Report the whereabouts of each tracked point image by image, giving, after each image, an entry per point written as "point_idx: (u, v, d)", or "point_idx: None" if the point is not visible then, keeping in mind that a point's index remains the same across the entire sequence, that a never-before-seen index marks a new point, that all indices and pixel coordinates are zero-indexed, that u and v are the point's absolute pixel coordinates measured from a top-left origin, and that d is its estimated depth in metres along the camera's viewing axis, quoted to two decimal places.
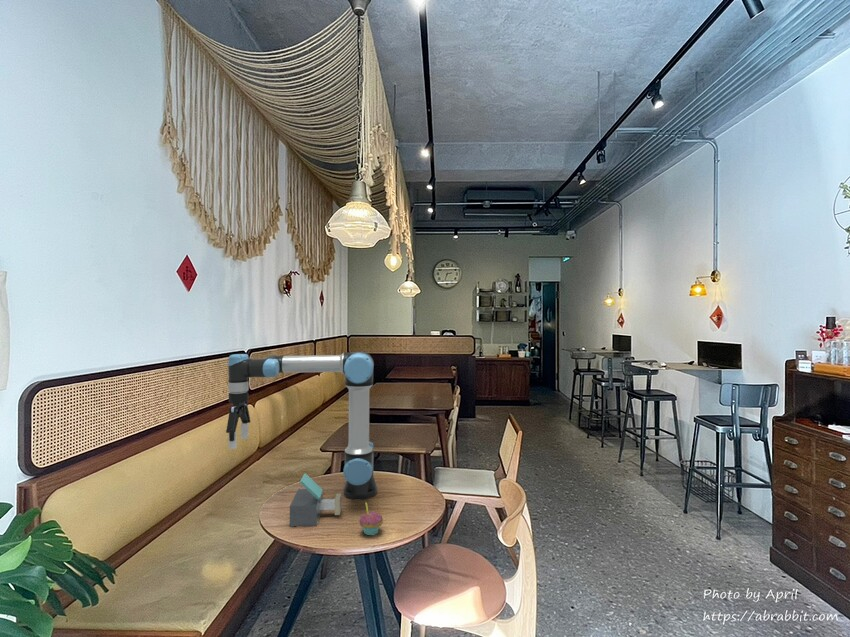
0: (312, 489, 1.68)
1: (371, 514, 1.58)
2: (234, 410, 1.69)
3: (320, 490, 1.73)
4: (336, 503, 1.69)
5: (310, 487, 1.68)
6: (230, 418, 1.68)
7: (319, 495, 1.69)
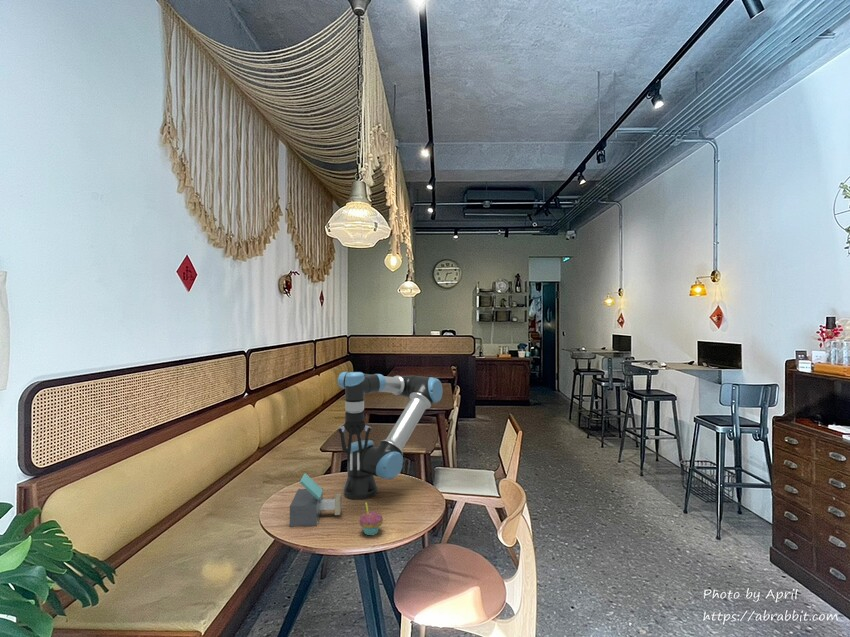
0: (312, 489, 1.68)
1: (371, 514, 1.58)
2: None
3: (320, 490, 1.73)
4: (336, 503, 1.69)
5: (310, 487, 1.68)
6: None
7: (319, 495, 1.69)
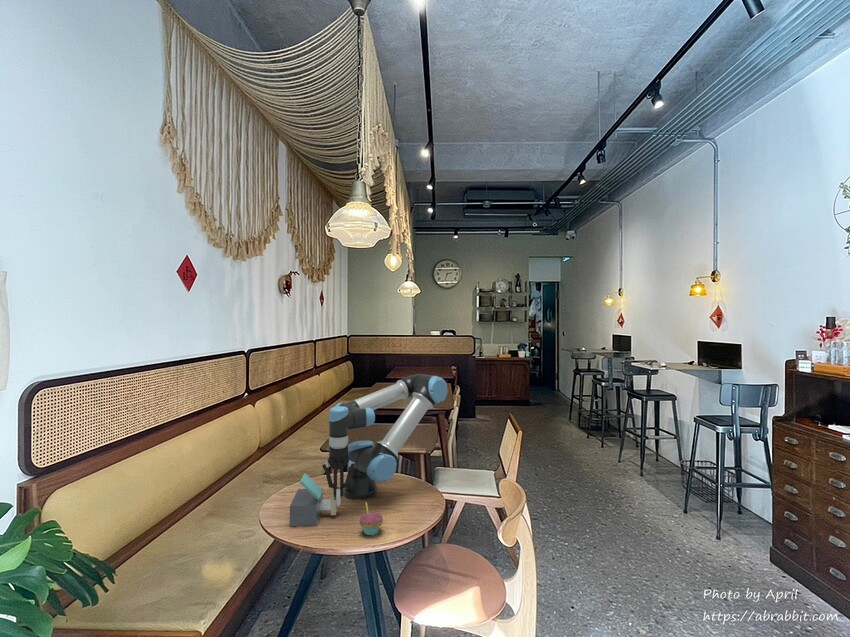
0: (312, 489, 1.68)
1: (371, 514, 1.58)
2: None
3: (320, 490, 1.73)
4: (332, 503, 1.69)
5: (310, 487, 1.68)
6: None
7: (319, 495, 1.69)
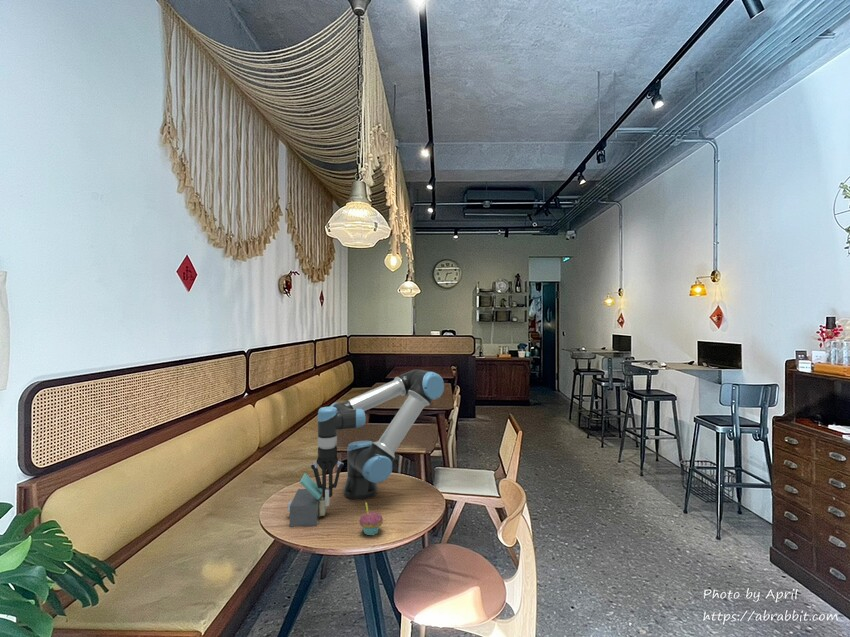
0: (312, 489, 1.68)
1: (371, 514, 1.58)
2: None
3: (320, 490, 1.73)
4: (321, 504, 1.68)
5: (310, 487, 1.68)
6: None
7: (319, 495, 1.69)
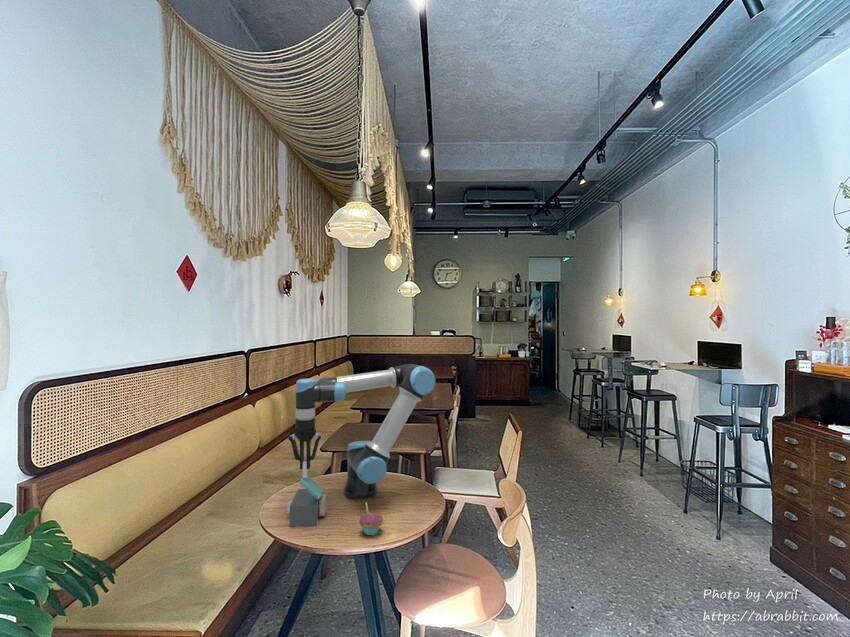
0: (312, 489, 1.68)
1: (371, 514, 1.58)
2: None
3: (320, 490, 1.73)
4: (321, 504, 1.68)
5: (310, 487, 1.68)
6: None
7: (319, 495, 1.69)
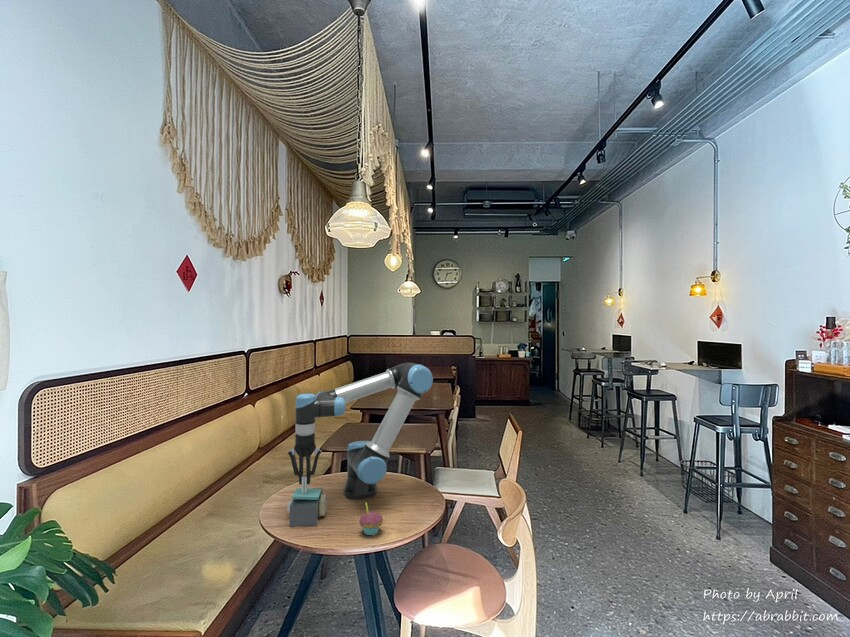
0: (307, 495, 1.68)
1: (371, 514, 1.58)
2: None
3: (318, 491, 1.73)
4: (321, 504, 1.68)
5: (304, 495, 1.68)
6: None
7: (317, 495, 1.69)
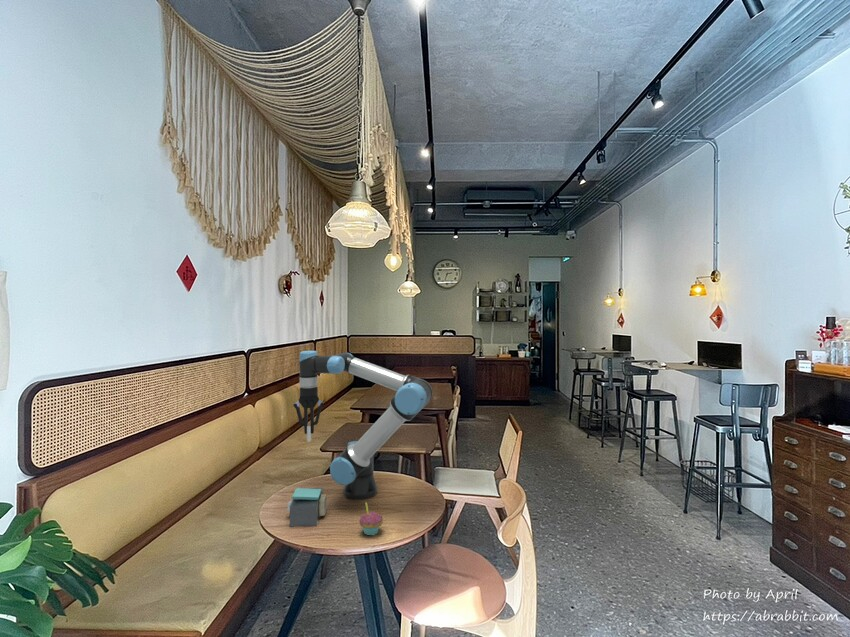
0: (307, 495, 1.68)
1: (371, 514, 1.58)
2: None
3: (318, 491, 1.73)
4: (321, 504, 1.68)
5: (304, 495, 1.68)
6: None
7: (317, 495, 1.69)
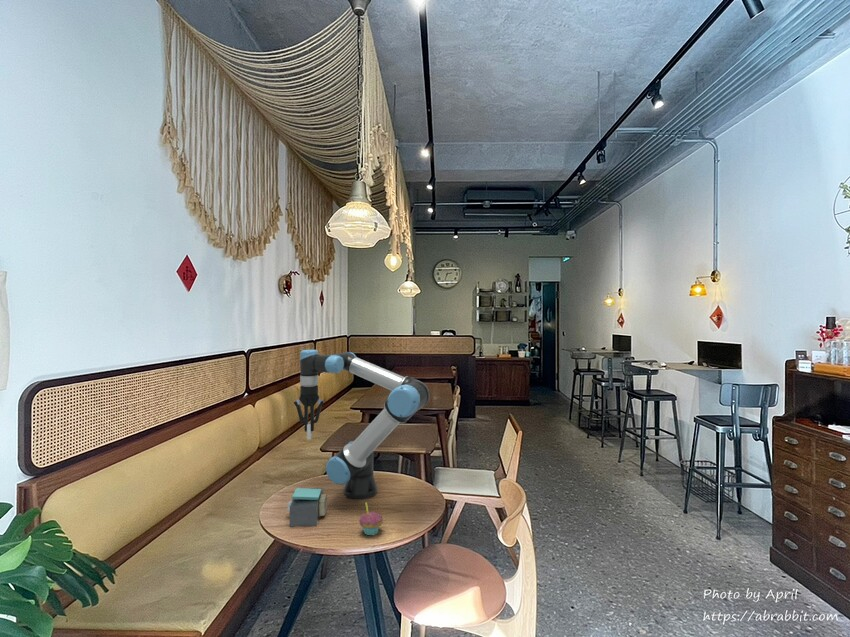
0: (307, 495, 1.68)
1: (371, 514, 1.58)
2: None
3: (318, 491, 1.73)
4: (321, 504, 1.68)
5: (304, 495, 1.68)
6: None
7: (317, 495, 1.69)
